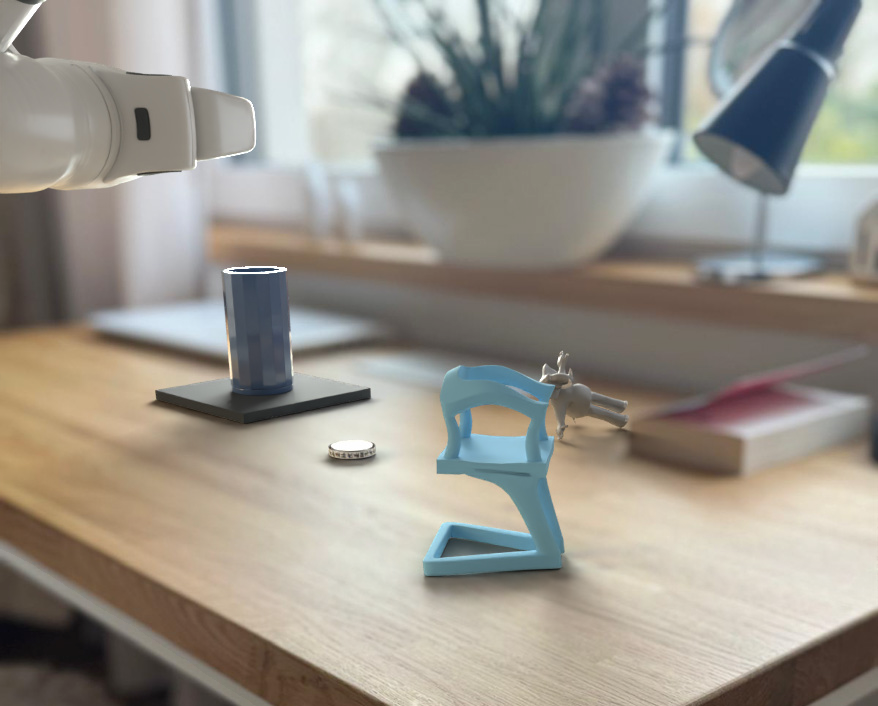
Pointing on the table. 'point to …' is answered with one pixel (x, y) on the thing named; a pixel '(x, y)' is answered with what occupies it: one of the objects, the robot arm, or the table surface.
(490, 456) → the chair
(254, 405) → the mat
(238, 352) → the cup
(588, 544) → the table surface
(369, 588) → the table surface
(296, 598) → the table surface
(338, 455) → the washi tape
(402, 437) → the table surface
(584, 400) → the grey figurine
